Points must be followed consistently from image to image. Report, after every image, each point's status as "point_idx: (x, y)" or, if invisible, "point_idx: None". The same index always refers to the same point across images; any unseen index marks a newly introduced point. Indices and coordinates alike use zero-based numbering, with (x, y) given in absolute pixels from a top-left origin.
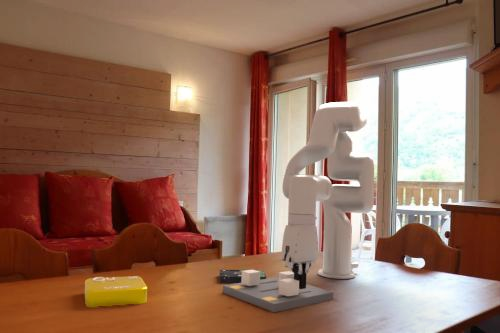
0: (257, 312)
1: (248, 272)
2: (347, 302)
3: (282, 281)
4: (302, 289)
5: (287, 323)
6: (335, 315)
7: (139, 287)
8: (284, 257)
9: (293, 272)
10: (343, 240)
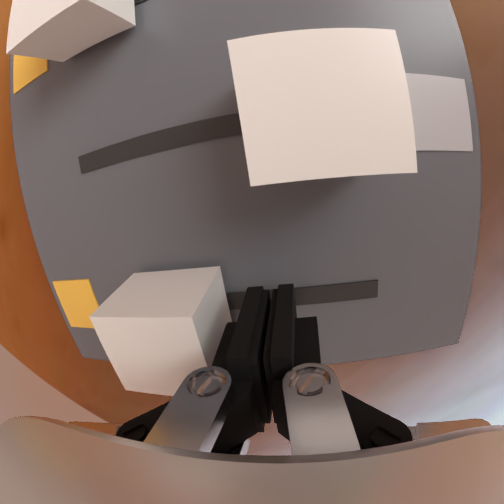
0: (54, 311)
1: (14, 28)
2: (444, 370)
3: (105, 345)
4: (366, 230)
5: (111, 408)
6: (277, 439)
7: None
8: (23, 438)
9: (199, 379)
10: None
